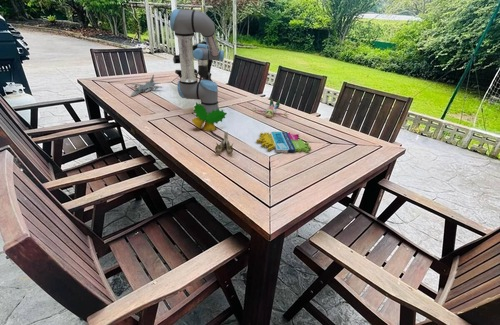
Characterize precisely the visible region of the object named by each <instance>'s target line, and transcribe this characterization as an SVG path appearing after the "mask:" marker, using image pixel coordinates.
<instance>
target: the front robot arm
mask: <svg viewBox="0 0 500 325" xmlns="http://www.w3.org/2000/svg"><path fill="white" fill-rule="evenodd" d="M169 17H170V18H169V27H170V30H171V31H172V32H174V36H175V37H176V38H177V44H178V53H179V54H180V63H179V64H180V70H181V74H182V77H181V78H180V77H179V80H178V82H177V84H176V85H177V86H176V88H177V93H178V95H179V97H180V98H182V99H186V100H187V99H188V100H199V101H200V104H201V106H204V109H206V112H208V113H211V112H212V110H214V111H216V110H217V109H219V111H221V110H220V108H219V102H218V99H219V98H218V97H219V88H218V84H217V82H216V81H213V80H212V73H211V72H210V73H208V66H207V65H208V60H212V61H218V62H222V61H224V59H225V51H224V50H223V49H220V46H219V43H218V39H217V35H216V26H215V23H214V21H213V20H212V18H211V17H209V15H207V14H206V13H204V11H201V10H192V9H182V8H177V9H176V8H175V9H173V10H172V11H171V14H170V16H169ZM195 34H200V35H201V37H203V39H204V41H205V42H206V44H207V45H206V44H198V46H197V49H195V50H194V51H193V45H194V44H193V37H194V36H195ZM207 46H208V49H207ZM179 54H178V55H179ZM195 60H197V73H195V72H194V69H195ZM207 75H209V80H207V77H206V76H207ZM198 76H199V77H198ZM202 77H205V80H203V79H202ZM198 78H199V79H198ZM211 80H212V81H211ZM208 113H207V115H208ZM209 132H210V133H211V134H212V135H214V136H216V137H217V138H219V139H221V141H222V140H223V141H224V137H222V136H220V135H218V134H216V133H214V131H211V130H210V131H209Z"/></svg>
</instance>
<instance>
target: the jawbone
mask: <svg viewBox="0 0 500 325" xmlns="http://www.w3.org/2000/svg"><path fill="white" fill-rule="evenodd" d="M223 135H224V136H223V139H224V140H222V139H221V142H220V144H218V142H215V144H216V146H215V148H214V149H215V152H214V154H215V155H217V156H218V155H220V153H221V152H223V151H224V150H226V152H227V153H228V155H229V156H233V155H234V154H233V153H234V148H233V144H234V143H230V140H228V139H229V138H228V137H229V136H228V135H229V133H228V131H226V132H224V134H223Z"/></svg>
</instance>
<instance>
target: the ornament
mask: <svg viewBox="0 0 500 325" xmlns="http://www.w3.org/2000/svg"><path fill="white" fill-rule="evenodd" d="M219 110H220V108H219V109H217V110H216V111H214V110H212V112H211V113H208V112H206V109H204V106H201V103H198V102H195V105H194V106H193V112H194V113H195V118H192V119H191V122H192V123H193V125H195V127H197V128H198V129H202V130H203V131H206V132H211V131H212V132H214V131H215V130H216V126H215V124H218V123H219V122H223V119H226V115H227V114H228V113H227V112H224V110H223V109H221V110H220V111H219ZM207 113H208V115H207ZM214 123H215V124H214ZM210 130H211V131H210Z"/></svg>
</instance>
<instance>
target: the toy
mask: <svg viewBox="0 0 500 325" xmlns="http://www.w3.org/2000/svg"><path fill="white" fill-rule="evenodd" d="M280 101H281V100H280V98H278V99H277V100H276V102H275V104H274V100H273V98H270V101H269V106H268V107H267V108H266V110H265V109H257V108H256V107H254V108H252V109H251V110H252V112H253V113H256V112H258V113H265V114H263V116H264V117H266V118H273V117H274V115H278V116H284V117H289V116H290V115H289V113H288V112H285V113H282V112H278V111H276V109H278V108H279V107H280V104H281V102H280Z"/></svg>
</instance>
